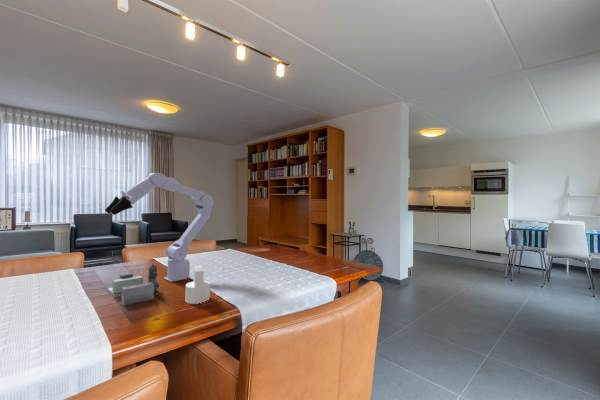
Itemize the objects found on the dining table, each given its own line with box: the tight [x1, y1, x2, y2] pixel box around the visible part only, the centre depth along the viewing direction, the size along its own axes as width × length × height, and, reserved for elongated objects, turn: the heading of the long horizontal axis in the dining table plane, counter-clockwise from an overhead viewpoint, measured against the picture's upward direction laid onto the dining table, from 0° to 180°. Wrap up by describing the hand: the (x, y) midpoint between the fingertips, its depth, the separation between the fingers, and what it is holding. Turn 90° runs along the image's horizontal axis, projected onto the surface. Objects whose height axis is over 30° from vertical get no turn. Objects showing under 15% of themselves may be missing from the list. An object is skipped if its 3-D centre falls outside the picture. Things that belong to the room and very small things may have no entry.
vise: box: [107, 282, 155, 307], centre depth 109 cm, size 10×22×6 cm, turn 47°
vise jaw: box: [112, 272, 144, 293], centre depth 112 cm, size 10×6×6 cm, turn 137°
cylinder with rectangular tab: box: [184, 265, 211, 305], centre depth 106 cm, size 9×9×12 cm
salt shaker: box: [147, 263, 161, 296], centre depth 112 cm, size 6×6×12 cm
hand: (109, 212), depth 111 cm, fingers open, 7 cm apart
